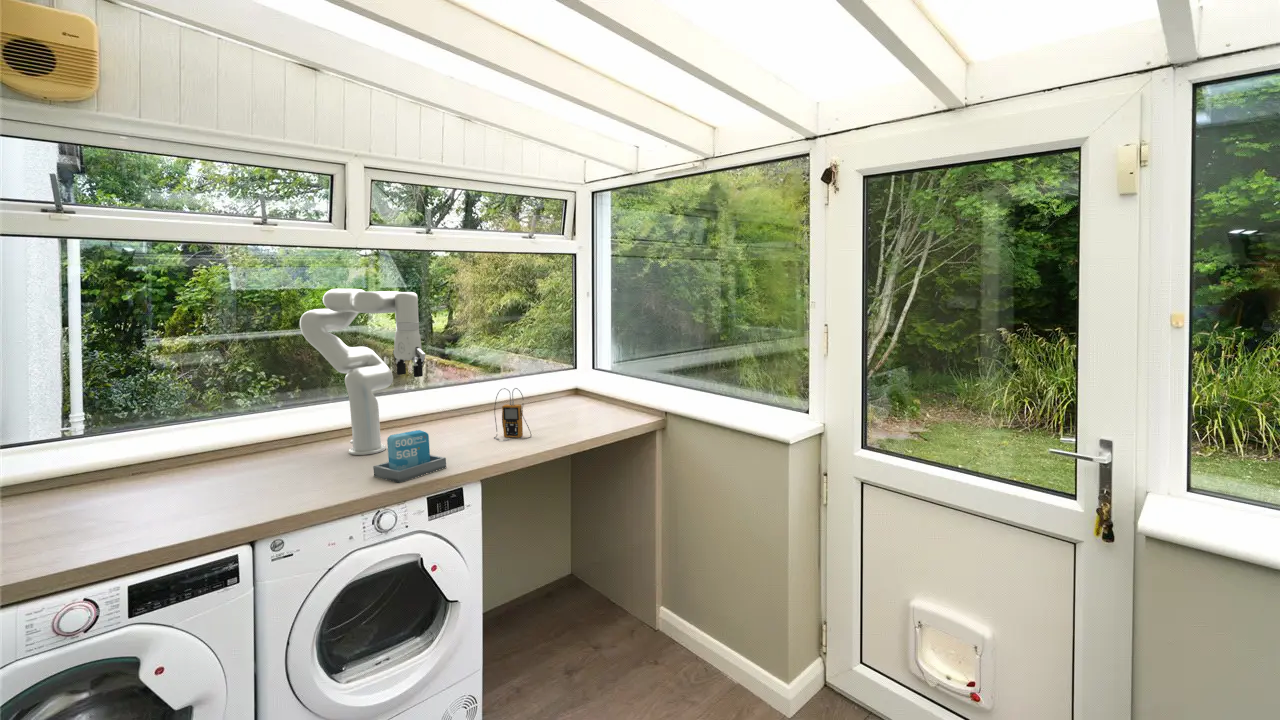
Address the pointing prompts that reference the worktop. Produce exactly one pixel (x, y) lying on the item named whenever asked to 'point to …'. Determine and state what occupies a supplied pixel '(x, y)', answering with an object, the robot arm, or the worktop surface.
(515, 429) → the multimeter
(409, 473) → the parts tray
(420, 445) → the data package
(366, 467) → the worktop surface
